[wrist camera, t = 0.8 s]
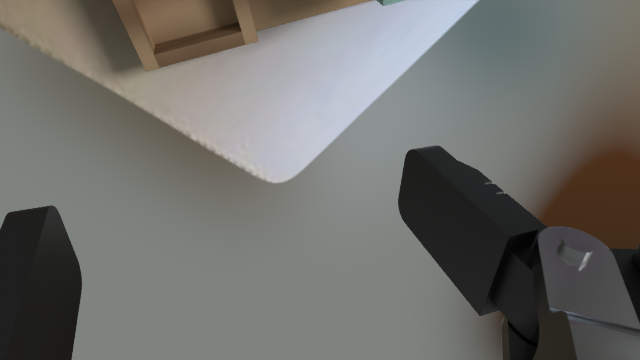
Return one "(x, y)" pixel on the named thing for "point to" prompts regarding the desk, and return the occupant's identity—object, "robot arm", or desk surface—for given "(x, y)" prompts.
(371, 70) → the desk surface
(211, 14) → the wooden tray with block
